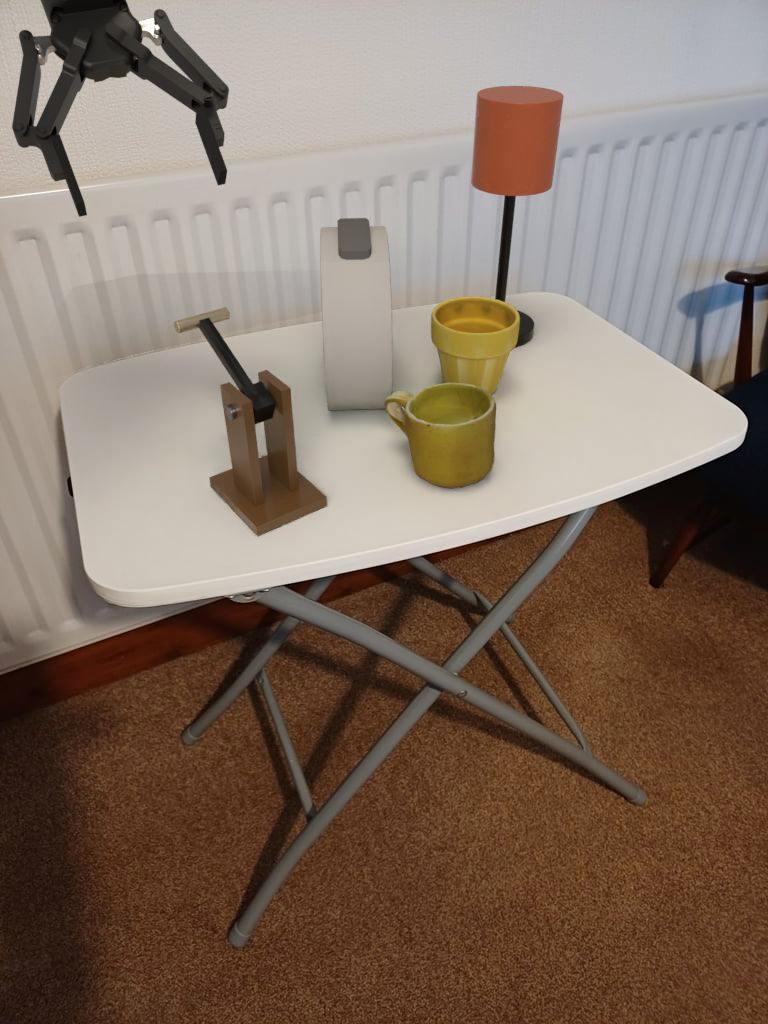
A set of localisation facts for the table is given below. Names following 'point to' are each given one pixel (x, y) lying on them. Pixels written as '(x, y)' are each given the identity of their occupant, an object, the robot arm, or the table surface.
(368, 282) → the alarm clock
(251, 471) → the wooden lever stand
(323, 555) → the table surface
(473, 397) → the mug
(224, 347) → the switch lever
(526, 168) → the lamp
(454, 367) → the flower pot
